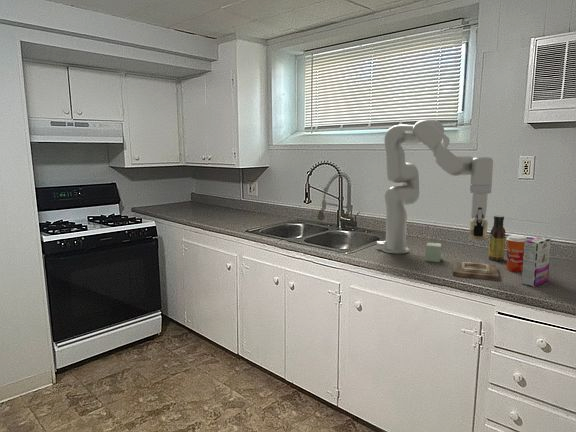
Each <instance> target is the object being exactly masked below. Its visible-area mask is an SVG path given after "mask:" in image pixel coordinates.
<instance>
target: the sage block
mask: <svg viewBox="0 0 576 432" xmlns="http://www.w3.org/2000/svg"><path fill="white" fill-rule="evenodd" d="M441 253H442V243H437V242H426V246H425V259H424V260H425V261H426V262H437V263H441V257H442V256H441V255H442V254H441Z"/></svg>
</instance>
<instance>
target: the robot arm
mask: <svg viewBox="0 0 576 432" xmlns="http://www.w3.org/2000/svg"><path fill="white" fill-rule="evenodd" d="M444 127H445V126H444V125H443V124H442V122H441V121H438V120H434V119H433V120H432V119H421V120H419V121H416V123H415V124H397V125H393V126H392V127H389V128H388V130H387V131H386V133H385V135H384V149H385V153H386V155H385V156H386V176H387V179H388V181H389V182H390V183H393V184H402V185H395V186H390V187H389V188H388V189H387V190H386V192H385V193H384V201H385V208H386V210H385V211H386V217H385V218H386V220H385V221H386V225H385V240H384V241H379V240H378V241H376V245H377V246H379V247H382V252H384V253H388V254H396V255H401V254H402V255H403V254H407V253H409V251H410V248H409V247H406V246H407V223H408V221H407V218H408V215H407V210H406V208H405V206H410V205H414V204H415V203H417V202H418V201H419V198H420V176H419V173H420V172H419V170H418V167H417V166H416V165H415V164H413V163H411V162H406V154H405V150H404V148H403V147H402V144H404V145H405V144H410V145H411V144H412V145H413V144H423V145H424V146H425V147H426V148H427V149H429V150H430V151H431V152H432V156H433V158H434V161H435V163H436V164H437V165H438V166H439V167H440V168H441V169H442V170H443V171H444V172H446V173H447V174H449V175H450V176H454V177H459V176H470V185H469V186H470V187H469V193H470V194H472V197H471V198H472V199H471V211H470V212H471V214H470V215H471V219H475V226H474V236H483V220H485V219H486V216H487V207H488V195H489V194H492V183H493V170H494V160H493V158H492V157H489V156H481V157H480V156H477V157H475V156H470V155H469V156H466V155H465V156H456V155H455V154H454V153H452V151H450V150H449V149H448V147H449V145H450V141H451V140H450V137H449V136H447V134H445V128H444Z"/></svg>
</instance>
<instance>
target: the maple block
mask: <svg viewBox="0 0 576 432" xmlns="http://www.w3.org/2000/svg"><path fill="white" fill-rule="evenodd" d="M488 223H489V222H488V220H487V219H483V236H474V226H475V218H470V222H469V240H475V241H476V240H478V241H487V237H488V235H487V234H488Z"/></svg>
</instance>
